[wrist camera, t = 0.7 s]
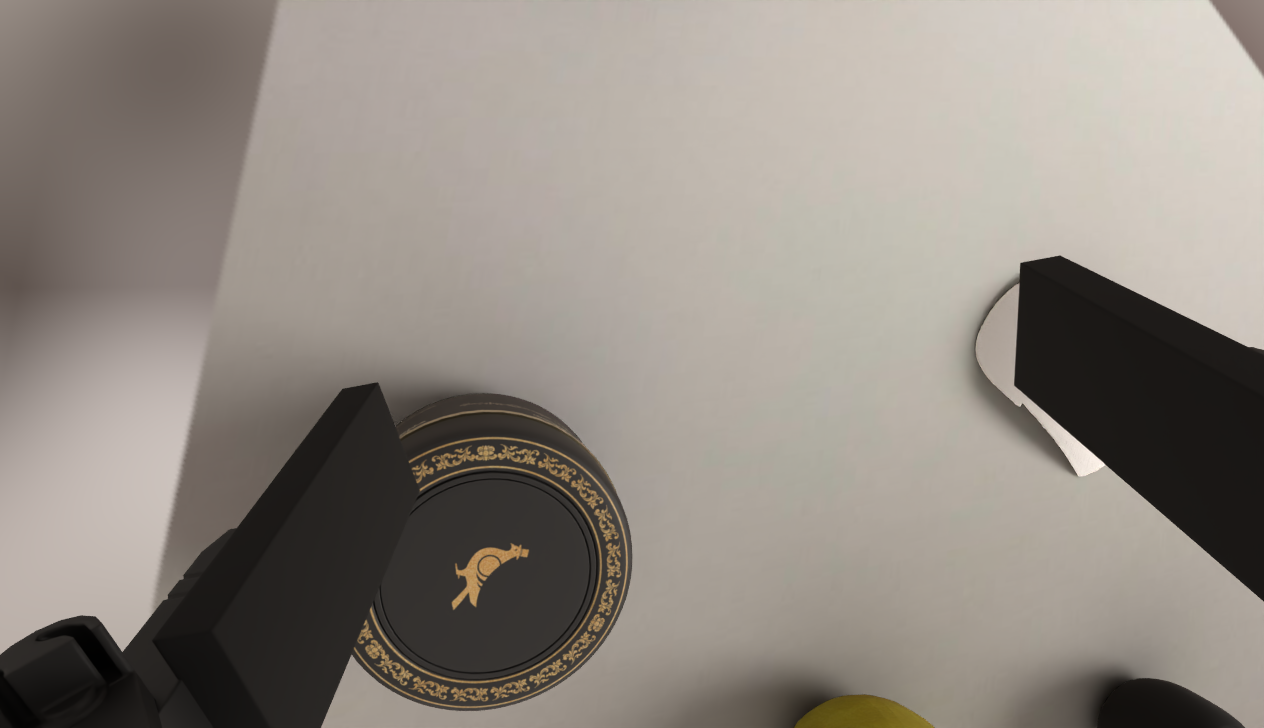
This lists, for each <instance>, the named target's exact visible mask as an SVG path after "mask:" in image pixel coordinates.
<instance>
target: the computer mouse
mask: <svg viewBox="0 0 1264 728" xmlns="http://www.w3.org/2000/svg"><path fill="white" fill-rule="evenodd" d="M1018 300H1019V283H1018V284H1017V285H1015V286H1013V288H1011V289H1010V290H1009V291H1007V293H1006V294H1005V295H1004V296H1002V298H1000V300H998V302H997V303H996V304H995V306H994V307H993V309H992V310H991V311H990V312H989V315H988V316H987V317H986V320H984V323H983V325H982V326H981V329H980V332H979V333H978V336H977V340H976V347H975V351H976V357H977V360H978V363H979V365H980V367H981V369H982V371H983V372H984V374H985V375H986V376H987V378H988V379H989V380H990V381H991V382H992V383H993V384H994V385H995V386H996V387H997V388H998V389H999V390H1001V392H1003V394H1005V395H1006V396H1007V397H1008V398H1009V399H1010V400H1012V401H1013V402H1014V403H1015V404H1016V405H1018V406H1019V407H1020V406H1021V405H1022V403H1023V404H1024V405H1025V407H1026V408H1027V409H1028V410H1029V411H1030V413H1031V414H1033V415H1034V417H1036V418H1037V420H1038V421H1039V422H1040V423H1041V424H1042V427H1043V428H1045V429H1047V430H1046V431H1047V432H1048V433H1049V434H1050V435H1051V436H1052V437H1053V439H1054V440H1055V442H1056V443H1057V444H1058V446H1059V447H1060V448H1061V449H1062V451H1063V452H1064V454H1065V456H1066V457H1067V458H1068V459H1069V462H1070V463H1071V465H1072V466H1073V468H1074V470H1075V471H1076V473H1077V474H1078V476H1079V477H1081V476H1085V475H1087V474H1089V473H1091V472H1093V473H1094V472H1095V471H1097V470H1098V469H1100V468H1102V467H1103V466H1104V465H1105V464H1104V463H1103V462H1102V461H1101V460H1100V459H1098V458H1097V457H1096V456H1095V455H1094V454H1093V453H1092V452H1090V451H1089V450H1088V449H1087V448H1086V447H1085V446H1083V445H1082V444H1081V443H1080V442H1079V441H1078V440H1076V439H1075V438H1074V437H1073V436H1072V435H1071V434H1070V433H1068V432H1067V431H1066V430H1065V429H1064V428H1063V427H1061V426H1060V425H1059V424H1058V423H1057V422H1056V421H1055V420H1053V419H1052V418H1051V417H1050V416H1049V415H1048V414H1046V413H1045V412H1044V411H1043V410H1042V409H1041V408H1039V407H1038V406H1037V405H1036V404H1035V403H1034V402H1033V401H1031V400H1030V399H1029V398H1028V397H1027V396H1026V395H1024V394H1023V393H1022V392H1021V391H1020V390H1019V389H1017V388H1016V387H1015V386H1014V375H1015V356H1016V338H1017V319H1018Z"/></svg>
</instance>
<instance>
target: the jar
mask: <svg viewBox="0 0 1264 728" xmlns="http://www.w3.org/2000/svg"><path fill="white" fill-rule="evenodd" d="M395 427H396V430H397V432H398V435H399V438H400V440H401V443H402V445H403V448H404V450H405V453H406V456H407V458H408V461H409V463H410V466H411V468H412V471H413V474H414V476H415V479H416V481H417V484H418V486H419V489H420V492H419V494H418V496H417V499H416V501H415V504H414V506H413V508H412V511H411V513H410V515H409V518H408V520H407V523H406V525H405V527H404V530H403V532H402V535H401V537H400V539H399V542H398V544H397V547H396V549H395V551H394V554H393V556H392V559H391V561H390V563H389V566H388V568H387V570H386V573H385V575H384V578H383V580H382V582H381V585H380V587H379V590H378V592H377V594H376V597H375V599H374V602H373V604H372V606H371V609H370V611H369V614H368V616H367V618H366V621H365V623H364V625H363V628H362V630H361V633H360V635H359V637H358V640H357V642H356V645H355V647H354V649H353V652H352V655H353V657H354V658H355V659H356V661H357V662H358V663H359V664H360V665H361V666H362V667H363V668H364V669H365V670H366V671H367V672H368V673H369V674H370V675H371V676H372V677H373V678H375V679H376V680H377V681H378V682H379V683H381V684H382V685H384V686H385V687H387V688H388V689H390V690H391V691H393V692H395V693H397V694H399V695H401V696H402V697H405V698H407V699H409V700H412V701H414V702H417V703H420V704H423V705H427V706H431V707H435V708H440V709H447V710H456V711H479V710H489V709H496V708H501V707H506V706H509V705H513V704H517V703H520V702H523V701H525V700H528V699H531V698H533V697H535V696H538V695H540V694H542V693H544V692H546V691H548V690H550V689H551V688H553V687H555V686H556V685H558V684H560V683H561V682H563V681H564V680H566V679H567V678H568V677H570V676H571V675H572V674H573V673H575V672H576V671H577V670H578V669H579V668H581V667H582V666H583V665H584V664H585V663H586V662H587V661H588V660H589V659H590V658H591V657H592V656H593V655H594V653H595V652H596V651H597V650H598V649H599V647H600V646H601V645H602V643H603V642H604V641H605V639H606V638H607V636H608V635H609V633H610V632H611V630H612V628H613V626H614V625H615V623H616V621H617V619H618V617H619V615H620V612H621V610H622V608H623V605H624V602H625V600H626V596H627V593H628V589H629V584H630V579H631V571H632V543H631V535H630V530H629V525H628V521H627V518H626V515H625V512H624V509H623V507H622V504H621V502H620V499H619V497H618V495H617V493H616V490H615V488H614V486H613V484H612V482H611V480H610V478H609V476H608V474H607V473H606V471H605V470H604V468H603V467H602V466H601V464H600V463H599V461H598V460H597V458H596V457H595V456H594V455H593V454H592V453H591V452H590V451H589V450H588V449H587V448H586V447H585V446H584V444H583V443H582V442H581V440H580V439H579V438H578V437H577V435H576V434H575V433H574V432H573V431H572V430H571V429H570V428H569V427H568V426H567V425H566V424H565V423H564V422H563V421H561V420H560V419H559V418H558V417H556V416H555V415H553V414H552V413H550V412H549V411H547V410H545V409H543V408H542V407H540V406H538V405H535V404H533V403H531V402H528V401H525V400H522V399H519V398H516V397H511V396H506V395H500V394H485V393H482V394H467V395H461V396H456V397H451V398H448V399H444V400H441V401H438V402H436V403H433V404H431V405H428V406H426V407H424V408H422V409H420V410H418V411H417V412H415V413H413V414H412V415H410V416H409V417H407V418H406V419H404V420H403V421H402V422H400V423H399V424H398V425H397V426H395Z"/></svg>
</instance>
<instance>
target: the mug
mask: <svg viewBox="0 0 1264 728" xmlns="http://www.w3.org/2000/svg"><path fill="white" fill-rule="evenodd" d="M1097 728H1245V727H1244V726H1243V725H1242V724H1241V723H1240V722H1239V721H1237V720H1236V719H1235V718H1234V717H1233V716H1231V715H1230V714H1229V713H1227V712H1226V711H1224V710H1223V709H1221V708H1220V707H1218V706H1216V705H1215V704H1213V703H1211V702H1210V701H1208V700H1206V699H1204V698H1203V697H1201V696H1199V695H1197V694H1196V693H1194V692H1192V691H1190V690H1188V689H1186V688H1184V687H1182V686H1179V685H1177V684H1174V683H1171V682H1169V681H1164V680H1159V679H1150V678H1139V679H1134V680H1130V681H1128V682H1126V683H1124V684H1122V685H1121V686H1119V687H1118V688H1117V689H1116V690H1114V691H1113V692H1112V694H1111V695H1110V696H1109V697H1108V699H1107V700H1106V701H1105V703H1104V705H1103V707H1102V709H1101V711H1100V715H1099V718H1098V725H1097Z"/></svg>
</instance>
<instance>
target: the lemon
mask: <svg viewBox="0 0 1264 728" xmlns="http://www.w3.org/2000/svg"><path fill="white" fill-rule="evenodd" d="M794 728H934V727H933V726H932V725H931V724H930V723H929V722H928V721H926V720H925V719H924V718H922V717H921V716H919V715H918V714H916V713H914V712H913V711H911V710H909V709H907V708H906V707H904V706H902V705H900V704H898V703H896V702H894V701H891V700H888V699H885V698H881V697H876V696H871V695H846V696H841V697H837V698H833V699H831V700H828V701H826V702H824V703H822V704H821V705H819V706H817V707H815V708H814V709H813V710H811V711H810V712H808V713H807V714H806V715H805V716H803V717H802V718H801V719H800V720H799V721H798V722H797V723H796V725H795V727H794Z"/></svg>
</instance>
